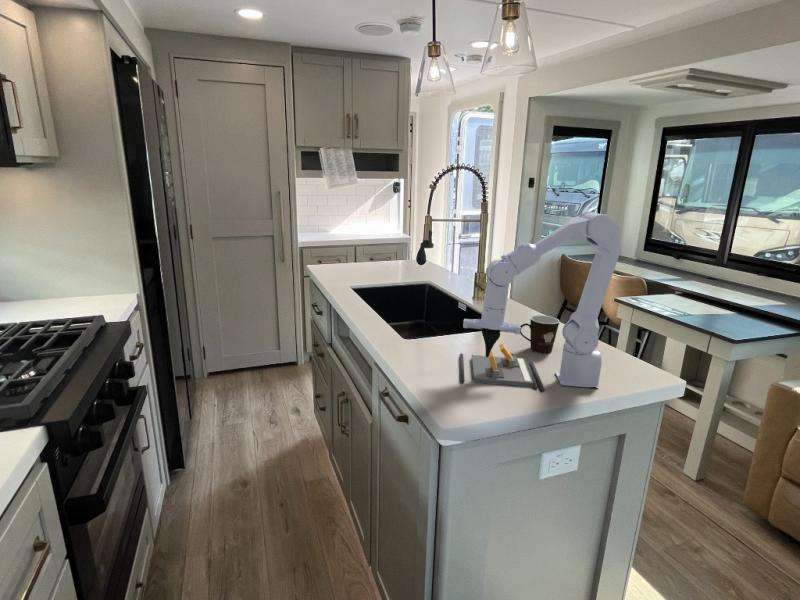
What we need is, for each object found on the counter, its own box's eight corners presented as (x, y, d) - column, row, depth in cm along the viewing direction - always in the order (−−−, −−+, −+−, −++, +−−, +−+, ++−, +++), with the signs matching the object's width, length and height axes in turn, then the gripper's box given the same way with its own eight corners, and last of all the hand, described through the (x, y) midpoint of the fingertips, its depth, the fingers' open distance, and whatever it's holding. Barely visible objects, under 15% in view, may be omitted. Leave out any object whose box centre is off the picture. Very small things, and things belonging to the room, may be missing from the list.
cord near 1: (532, 362, 134) (532, 359, 133) (544, 392, 115) (545, 388, 115) (528, 362, 134) (529, 359, 133) (540, 391, 115) (541, 388, 115)
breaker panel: (523, 362, 133) (525, 352, 132) (532, 386, 118) (534, 375, 117) (471, 358, 135) (472, 348, 134) (474, 382, 119) (475, 370, 119)
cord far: (463, 356, 136) (463, 353, 136) (464, 383, 118) (464, 380, 118) (459, 355, 137) (459, 352, 136) (460, 383, 118) (460, 380, 118)
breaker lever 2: (512, 356, 131) (502, 343, 130) (514, 361, 127) (504, 348, 127) (509, 358, 131) (499, 345, 131) (510, 364, 128) (500, 350, 127)
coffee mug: (554, 347, 147) (558, 317, 144) (556, 356, 139) (560, 325, 136) (517, 342, 150) (520, 313, 147) (516, 351, 142) (520, 320, 139)
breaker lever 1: (497, 367, 124) (491, 350, 123) (498, 373, 120) (493, 356, 119) (492, 368, 124) (487, 351, 123) (494, 374, 120) (488, 357, 119)
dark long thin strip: (527, 363, 133) (527, 360, 132) (537, 389, 116) (538, 386, 116) (524, 363, 133) (524, 360, 133) (533, 389, 116) (534, 385, 116)
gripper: (521, 305, 121) (513, 353, 125) (465, 299, 122) (459, 347, 126) (525, 313, 114) (516, 363, 118) (466, 306, 115) (459, 356, 119)
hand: (487, 356), depth 121 cm, fingers closed, pressing on breaker lever 1
